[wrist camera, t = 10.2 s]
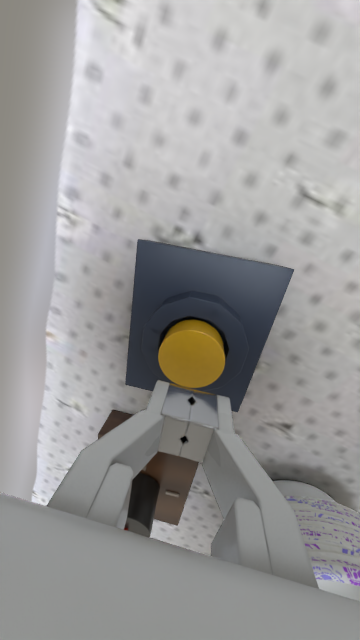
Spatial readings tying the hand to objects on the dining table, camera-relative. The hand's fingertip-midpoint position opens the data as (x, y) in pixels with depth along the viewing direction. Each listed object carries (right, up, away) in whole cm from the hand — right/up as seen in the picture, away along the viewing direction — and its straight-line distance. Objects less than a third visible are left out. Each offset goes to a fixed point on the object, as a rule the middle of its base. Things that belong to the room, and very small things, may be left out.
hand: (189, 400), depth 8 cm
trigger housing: (+1, +3, +8) cm, 9 cm away
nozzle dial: (-5, -14, +12) cm, 19 cm away
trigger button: (0, +2, +5) cm, 5 cm away
